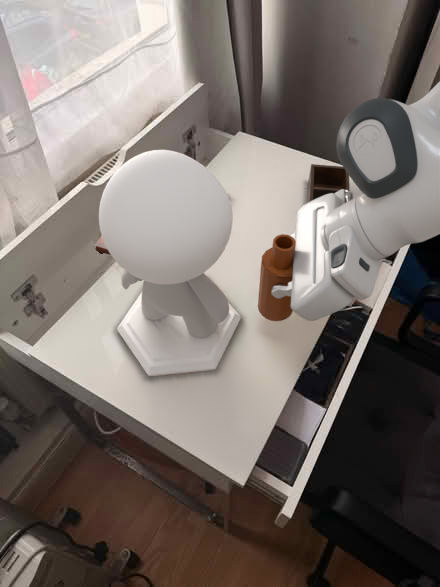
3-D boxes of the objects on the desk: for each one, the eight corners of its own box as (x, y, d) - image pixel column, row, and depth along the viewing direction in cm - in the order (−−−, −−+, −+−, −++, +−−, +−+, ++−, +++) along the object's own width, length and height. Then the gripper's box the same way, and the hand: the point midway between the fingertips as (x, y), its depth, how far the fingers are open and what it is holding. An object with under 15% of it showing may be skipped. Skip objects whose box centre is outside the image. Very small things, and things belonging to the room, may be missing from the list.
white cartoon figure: (252, 295, 84) (263, 138, 56) (201, 398, 72) (182, 264, 44) (162, 264, 89) (130, 105, 61) (100, 356, 77) (25, 210, 49)
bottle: (293, 294, 76) (306, 229, 63) (292, 323, 72) (305, 260, 59) (259, 291, 76) (265, 225, 64) (256, 319, 73) (261, 256, 60)
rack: (343, 186, 102) (348, 166, 98) (344, 235, 93) (350, 216, 89) (307, 183, 103) (311, 164, 99) (305, 231, 94) (309, 213, 90)
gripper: (339, 171, 63) (268, 215, 72) (342, 281, 51) (256, 318, 60) (363, 197, 66) (292, 236, 75) (371, 307, 54) (285, 338, 63)
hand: (276, 273), depth 67 cm, fingers closed on bottle, 6 cm apart
